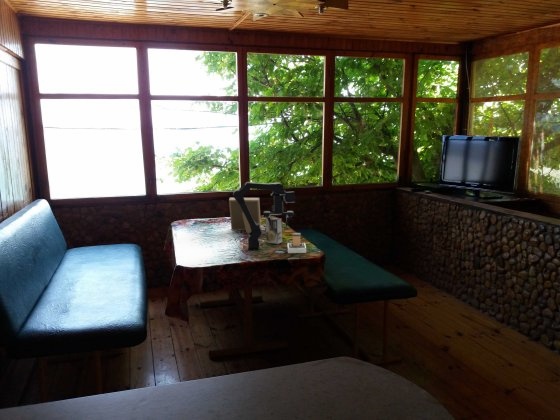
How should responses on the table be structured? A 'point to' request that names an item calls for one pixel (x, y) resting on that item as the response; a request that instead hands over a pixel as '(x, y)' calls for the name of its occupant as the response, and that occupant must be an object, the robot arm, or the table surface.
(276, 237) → the coffee box
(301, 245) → the socket box
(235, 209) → the photo frame
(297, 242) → the plug
